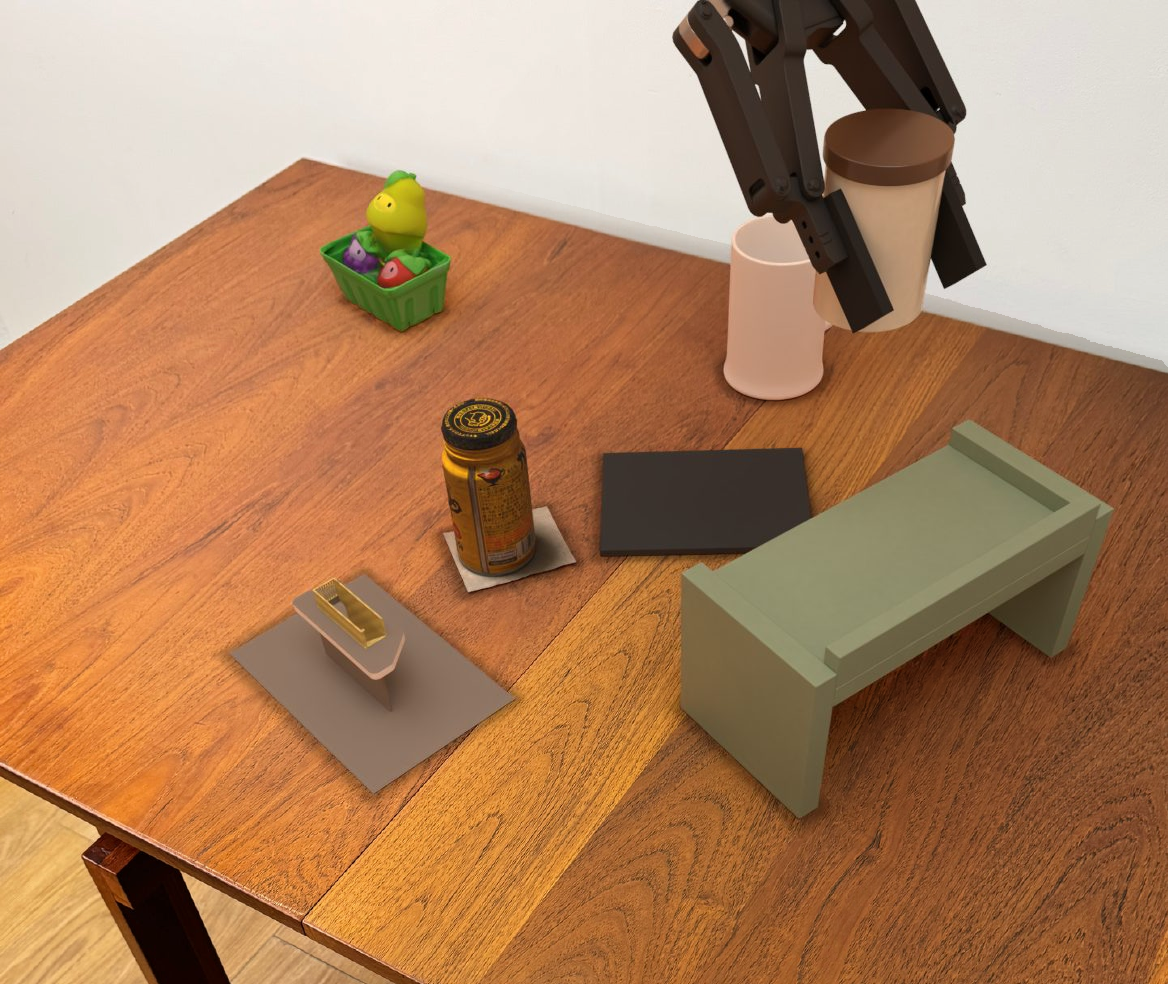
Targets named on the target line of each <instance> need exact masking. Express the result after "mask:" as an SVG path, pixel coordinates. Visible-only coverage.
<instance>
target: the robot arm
mask: <svg viewBox="0 0 1168 984" xmlns="http://www.w3.org/2000/svg"><path fill="white" fill-rule="evenodd" d="M844 22H845V26H844V28H843V29H842V30H841V31H840V32H839V33H838V34H837V35H836V34H835V33H836V32H837V31H838V30H839V29H840V28H841V27H842V26H843V25H844ZM734 33H735V34H737V35H738V36H739V37H740V38H742V39H743V40H744V42H745V43H744V44H745V48H746V54H747V59H746V57H745V54H744V52H743V49H742V47H741V45H740V43H739V40H738V39H737V36H736V35H735V34H734ZM671 38H672V43H673V44H674V47H675V48H676V49H677V50H678V52H679V54H681V56H682V57H683V59H684V60H685V61H686V63H687V64H688V65H689V67H690V68H691V70H692V71H693V72H694V74H695V75H696V77H697V79H698V82H699V84H700V87H701V89H702V92H703V95H704V98H705V100H706V102H707V105H708V108H709V110H710V113H711V116H712V118H713V120H714V121H713V122H714V123H715V126H716V129H717V132H718V134H719V136H720V139H721V142H722V145H723V146H724V150H725V153H726V154H727V157H728V161H729V163H730V165H731V168H732V170H733V173H734V175H735V178H736V181H737V183H738V185H739V188H740V191H741V194H742V195H743V199H744V201H745V205H746V206H747V209H748V211H749V212H750V213H751V214H752V216H754V217H756V218H758V217H762V216H766V215H767V214H771V215H773V217H774V218H775V220H776V221H777V222H779V223H781V224H786V223H788V222H789V221H790V220H792V222H793V223H794V225H795V228H796V230H797V232H798V234H799V237H800V239H801V241H802V244H803V246H804V248H805V250H806V253H807V255H808V256H809V259H810V262H811V264H812V266H813V268H814V269H815V270H816V271H817V272H818V273H819V274H822V273H824V272H826V273H827V276H828V278H829V280H830V283H831V285H832V287H833V289H834V292H835V294H836V296H837V298H838V301H839V303H840V305H841V308H842V310H843V312H844V314H845V317H846V319H847V321H848V323H849V326H850V328H851V330H852V331H851V330H850V331H851V332H852V334H855V333H857V331H860V330H862V329H864V328H865V327H867V326H869V325H870V324H872V323H874V322H875V321H877V320H879V319H880V318H882V317H884V316H885V315H887V314H889V313H890V312H892V311H894V309H893V306H892V304H891V302H890V299H889V297H888V295H887V292H886V290H885V288H884V285H883V283H882V281H881V279H880V276H879V274H878V272H877V269H876V267H875V265H874V262H873V260H872V258H871V255H870V253H869V251H868V249H867V246H866V244H865V242H864V239H863V237H862V235H861V232H860V230H859V228H858V225H857V223H856V221H855V219H854V216H853V214H852V212H851V209H850V207H849V205H848V202H847V200H846V198H845V196H844V193H843V191H842V189H838V190H836V191H834V192H832V193H830V194H828V195H827V196H826V197H825V198H824V197H823V193H824V190H825V183H824V172H823V166H822V161H821V154H820V149H819V143H818V135H817V132H816V131H817V130H816V125H815V119H814V113H813V108H812V101H811V96H810V90H809V83H808V78H807V72H806V66H805V57H806V54H807V51H812V52H813V53H814V54H815V56H816V57H817V58H818V60H819V61H820V62H821V63H822V64H823V65H830V66H832V67H833V68H834V69H835V71H836V72H837V73H838V75H839V76H840V77H841V79H842V80H843V81H844V83H845V84H846V85H847V87H848V88H849V89H850V91H851V92H852V93H853V95H854V96H855V98H856V99H857V100H858V101H859V103H860V104H861V105H862V107H863V108H864V111H865V110H872V109H903V110H911V111H916V112H920V113H924V114H927V115H930V116H933V117H935V118H937V119H939V120H941V121H942V122H944V123H945V124H946V125H948V126H949V127H950V129H951V130H952V131H953V133H954V135H956V132H957V128H958V127H957V126H958V125H959V124H961V122H963V121H964V120H965V119H966V116H967V108H966V105H965V103H964V101H963V98H962V96H961V94H960V92H959V90H958V87H957V86H956V82H955V81H954V80H953V77H952V75H951V73H950V71H949V69H948V66H947V64H946V62H945V60H944V58H943V56H942V54H941V51H940V50H939V47H938V45H937V42H936V41H935V39H934V37H933V35H932V32H931V30H930V28H929V26H928V23H927V22H926V20H925V18H924V15H923V13H922V11H921V9H920V7H919V5H918V2H917V1H916V0H696V2H695V3H694V4H693V6H692V7H691V9H689V11H688V13H687V14H686V15H685V16H684V17H683V19H682V20H681V21H680V22H679V23H678V25H677V27H676V28H675V29H674V30H673V32H672V37H671ZM747 60H748V63H747ZM756 85H757V86H758V89H757V86H756ZM758 90H759V91H758ZM966 204H967V199H966V193H965V190H964V188H963V185H962V184H961V180H960V179H959V176H958V173H957V171H956V169H955V166H954V163H953V162H952V160H951V163H950V165H949V166H948V168H947V169H946V172H945V177H944V183H943V189H942V195H941V201H940V207H939V213H938V219H937V225H936V231H935V237H934V242H933V248H932V254H931V260H930V261H931V263H932V265H933V267H934V269H935V272H936V274H937V276H938V278H939V281H940V283H941V286H942V288H943V290H946V289H948V288H950V287H952V286H954V285H956V284H957V283H959V282H961V281H962V280H964V279H966V278H967V277H969V276H971V275H972V274H974V273H976V272H978V271H980V270H981V269H983V268H985V267H986V266H988V264H987V262H986V260H985V257H984V254H983V251H982V250H981V246H980V245H979V242H978V240H977V238H976V235H975V233H974V231H973V229H972V228H973V227H972V226H971V223H970V220H969V218H968V216H967V214H966V212H965V209H964V206H965V205H966Z"/></svg>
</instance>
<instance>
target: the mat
mask: <svg viewBox="0 0 1168 984" xmlns="http://www.w3.org/2000/svg"><path fill="white" fill-rule="evenodd" d="M601 479H602V480H601V509H600V510H601V511H600V536H599V537H600V538H599V556H600V557H633V556H635V557H637V556H678V555H680V556H681V555H718V554H719V555H722V554H746V553H748V552H750V551H752V550H754V549H755V548H757V547H759V546H761V545H763V544H765V543H767V542H768V541H770V540H772V539H774V538H776V537H778V536H780V535H781V534H783V533H785V532H787V531H789V530H791V529H792V528H794V527H796V526H798V525H800V524H802V523H804V522H805V521H807V520H809V519H811V518H812V513H811V506H810V497H809V489H808V482H807V474H806V467H805V458H804V451H803V447H775V448H774V447H773V448H772V447H771V448H739V449H737V448H736V449H706V450H705V449H702V450H701V449H699V450H698V449H697V450H667V451H665V450H663V451H631V452H630V451H629V452H627V451H625V452H603V453H602V477H601Z"/></svg>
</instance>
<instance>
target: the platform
mask: <svg viewBox="0 0 1168 984" xmlns="http://www.w3.org/2000/svg"><path fill="white" fill-rule="evenodd" d="M292 606H293V609H294V611H295V612H296V613H295V614H293V615H291V616H290V617H288V618H287V619H285V620H283V621H281V622H280V623H278V624H276V625H274V626H273V627H271V628H269V629H268V630H266V631H264V632H263V633H260V634H259V635H257V636H255V637H254V638H251V640H248V641H247V642H246V643H244V644H242V645H240V646H239V647H237V648H235V649H234V650H232V651H230V652H229V653H228V654H229V655H230V656H231V657H232V658H233V660H235V661H236V662H237V663H238V664H239V665H240V666H241V667H242V668H243V669H244V670H245V671H246V672H247V673H248V674H250V676H251V677H253V678H254V680H256V681H257V682H258V684H260V685H261V686H262V687H263V688H264V689H265V690H266V691H267V692H268V693H269V695H271V696H272V697H273V699H275V700H276V701H277V702H278V703H279V704H280V705H281V706H282V707H283V708H284V709H285V710H286V711H287V712H288V713H289V714H290V715H291V716H293V718H294V719H296V720H297V721H298V722H299V724H301V725H302V727H304V728H305V729H306V730H307V731H308V732H309V733H310V734H311V735H312V736H313V737H314V738H315V739H316V740H317V741H318V742H319V743H320V744H321V745H322V746H323V747H324V748H325V749H326V750H328V752H329V753H330V754H331V755H333V757H334V758H336V759H337V761H339V763H341V764H342V765H343V767H344V768H346V769H347V770H348V771H349V772H350V774H352V775H353V776H354V777H355V778H356V779H357V780H358V781H359V782H360V783H361V784H362V785H364V787H365V788H366V789H367V790H369V792H370V793H372V794H373V795H374V794H376V793H377V792H378V791H380V790H382V789H383V788H384V787H386V786H388V785H390V783H392V782H394V781H395V780H396V779H398V778H399V777H401V776H403V775H404V774H405V773H407V772H409V771H410V770H411V769H413V768H414V767H417V765H419V764H420V763H422V762H423V761H425V760H426V759H428V758H429V757H431V756H432V755H434V754H436V753H437V752H438V751H440V750H442V748H444V747H446V746H447V745H449V744H450V743H451V742H453V741H455V740H456V739H457V738H459V737H460V736H462V735H463V734H466V732H468V731H469V730H471V729H472V728H474V727H475V726H477V725H478V724H480V723H481V722H482V721H484V720H486V719H488V718H489V717H491V716H492V715H493V714H495V713H496V712H498V711H499V710H501V709H502V708H504V707H505V706H506V705H508V704H510V703H511V702H513V701H514V700H515V699H516V698H515V696H513V695H512V694H510V693H509V692H508V691H507V690H506V689H504V687H502V686H501V685H500V684H499V683H497V681H495V680H494V679H492V677H490V676H489V675H488V674H486V673H485V672H484V671H483V670H481V668H479V667H478V666H477V665H475V664H474V663H473V662H472V661H471V660H469V659H468V658H467V657H466V656H465V655H463V654H462V653H461V652H460V651H458V650H457V649H456V648H455V647H454V646H452V644H450V643H449V642H448V641H446V640H445V639H444V638H443V637H442V636H440V635H439V634H438V633H437V632H436V631H434V630H433V629H432V628H431V627H429V626H428V625H427V624H426V623H425V622H423V621H422V620H421V619H420V618H418V616H416V615H415V614H414V613H413V612H411V611H410V610H409V609H407V607H405V606H404V605H403V604H402V603H400V602H399V600H397V599H395V598H394V597H393V596H392V595H391V594H390V593H388V592H387V591H386V590H385V589H383V588H382V587H381V586H380V585H379V584H378V583H376V582H375V581H374V580H372V579H371V577H369V576H368V575H367V574H366V573H363V574H361V575H359V576H357V577H356V578H355V579H353V580H351V581H349V582H347V583H341V582H340V580H338V579H337V578H336V577H332V578H329V580H327V581H325V582H323V583H322V584H320V585H318V586H317V587H315V588H313V589H312V590H307V591H305V592H303V593H302V594H300V595H298V596H296V597H294V599H293V600H292Z"/></svg>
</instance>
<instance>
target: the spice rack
mask: <svg viewBox="0 0 1168 984" xmlns="http://www.w3.org/2000/svg"><path fill="white" fill-rule="evenodd" d="M1114 510H1115V508H1114V507H1112V506H1111V505H1109V504H1108V503H1106V502H1104V501H1102V500H1101V499H1099V498H1097V497H1096V496H1095V495H1093V494H1091V493H1090V492H1088V491H1086V490H1085V489H1083V488H1081V487H1080V486H1078V485H1077V484H1075V483H1074V482H1072V481H1070V480H1069V479H1067V478H1066V477H1064V476H1062V475H1061V474H1059V473H1058V472H1056V471H1054V470H1052V469H1051V468H1049V467H1048V466H1046V465H1044V464H1042V463H1041V462H1040V461H1038V460H1036V459H1035V458H1033V457H1032V456H1030V455H1028V454H1026V453H1025V452H1023V451H1022V450H1020V449H1018V448H1017V447H1016V446H1014V445H1012V444H1010V443H1009V442H1007V441H1006V440H1004V439H1002V438H1001V437H999V436H997V435H995V433H992V432H991V431H990V430H987V429H986V428H985V427H983V426H981V425H979V424H978V423H977V422H975V421H973V420H971V419H969V418H968V419H966V420H964V421H962V422H961V423H959V424H957V425H955V426H953V427H952V428H951V431H950V435H949V441H948V444H947V445H944V446H943V447H941V448H939V449H937V450H935V451H933V452H932V453H930V454H928V455H926V456H924V457H922V458H921V459H919V460H917V461H915V462H913V463H911V464H910V465H908V466H906V467H904V468H902V469H900V470H898V471H896V472H895V473H893V474H891V475H889V476H887V477H886V478H885V477H884V479H881V480H880V481H878V482H876V483H874V484H872V485H870V486H869V487H866V488H865V489H863V490H861V491H859V492H857V493H855V494H854V495H852V496H850V497H847V499H843V501H840V502H839V503H837V504H835V505H833V506H831V507H829V508H827V509H826V510H823V511H822V512H821V513H819V514H817V515H815V516H812V517H811V519H809V520H807V521H805V522H804V523H802V524H800V525H798V526H796V527H794V528H792V529H791V530H789V531H787V532H785V533H783V534H781V535H780V536H778V537H776V538H774V539H772V540H770V541H768V542H767V543H765V544H763V545H761V546H759V547H757V548H755V549H754V550H752V551H750V552H748V553H743V554H742V555H741V556H739V557H737V558H734V559H733V560H731V561H730V562H728V563H726V564H724V565H722V566H720V567H718V568H716V569H714V570H712V569H711V568H709V567H708V566H707V565H706V564H705V563H703V562H702V561H701V562H699V563H696V564H695V565H693V566H691V567H690V568H688V569H685V570H684V571H682V572H681V573H680V697H679V699H680V700H679V701H680V703H679V704H680V705H679V706H680V709H681V710H683V712H684V713H686V714H687V715H688V716H689V717H690V718H691V719H692V720H693V721H694V722H695V723H696V724H697V725H699V726H700V727H701V728H702V729H703V730H704V731H705V732H706V733H707V734H708V735H709V736H710V737H711V738H712V739H714V740H715V742H717V744H718V745H720V746H721V747H722V748H723V750H725V751H726V752H727V753H728V754H729V755H730V756H732V758H733V759H734V760H735V761H737V762H738V763H739V765H741V766H742V767H743V768H744V769H745V770H746V771H747V772H748V773H749V774H751V775H752V776H753V777H754V779H755V780H757V781H758V782H759V783H760V784H761V785H762V787H763V788H765V789H766V790H767V791H769V792H770V793H771V794H772V795H773V796H774V797H775V798H776V799H777V800H778V801H779V802H780V803H781V804H782V805H783V806H784V807H785V808H786V809H787V810H789V812H791V813H792V814H793V815H794V817H796V818H797V819H799V820H800V819H802V818H803V817H805V816H806V815H808V814H810V813H811V812H812V811H814V810H816V809H817V808H819V803H820V796H821V789H822V782H823V781H822V780H823V774H824V770H825V769H824V767H825V760H826V754H827V747H828V741H829V734H830V727H831V721H832V720H831V719H832V713H833V707H835V706H837V705H840V703H842V702H843V701H845V700H847V699H848V698H850V697H851V696H854V695H855V694H857V693H858V692H860V691H861V690H863V689H865V688H866V687H868V686H870V685H872V684H873V683H875V682H876V681H879V680H880V679H881V678H883V677H885V676H886V675H888V674H889V673H891V672H893V671H895V670H896V669H898V668H899V667H902V666H903V665H904V664H906V663H908V662H909V661H911V660H913V659H914V658H916V657H917V656H919V655H921V654H922V653H924V652H927V650H928V649H930V648H932V647H934V646H936V645H937V644H939V643H940V642H942V641H944V640H945V639H947V638H949V637H950V636H952V635H953V634H955V633H957V632H958V631H960V630H962V629H963V628H965V627H967V626H968V625H971V624H972V623H973V622H975V621H976V620H978V619H979V618H981V617H983V616H985V615H986V614H989V615H990V616H992V617H993V618H994V619H996V620H997V621H999V622H1000V623H1002V624H1003V625H1004V626H1005V627H1007V628H1009V629H1010V630H1011V631H1013V632H1014V633H1015V634H1017V635H1018V636H1019V637H1021V638H1022V639H1023V640H1025V641H1027V643H1029V644H1031V645H1032V646H1033V647H1034V648H1036V649H1037V650H1039V651H1040V652H1042V653H1043V654H1044V655H1046V656H1047V657H1049V658H1050V659H1052V658H1053V657H1055V656H1056V655H1058V654H1060V653H1061V652H1063V651H1065V650H1066V649H1067V648H1068V645H1069V642H1070V639H1071V637H1072V633H1073V631H1074V628H1075V626H1076V625H1075V624H1076V622H1077V619H1078V616H1079V612H1080V610H1081V607H1082V604H1083V602H1084V598H1085V595H1086V592H1087V590H1088V586H1089V583H1090V580H1091V577H1092V574H1093V572H1094V569H1095V565H1096V564H1097V560H1098V558H1099V554H1100V551H1101V548H1102V546H1103V542H1104V540H1105V537H1106V534H1107V530H1108V528H1109V525H1110V522H1111V520H1112V516H1113V513H1114Z"/></svg>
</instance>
